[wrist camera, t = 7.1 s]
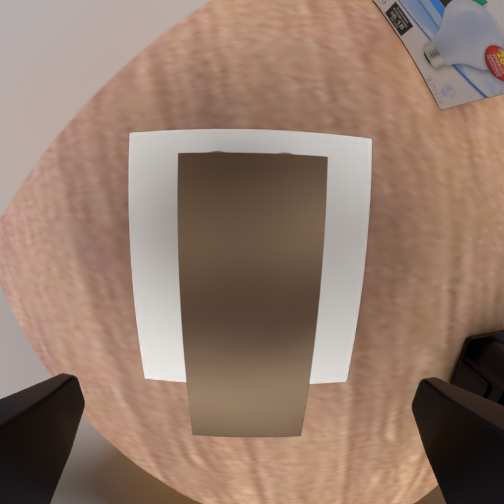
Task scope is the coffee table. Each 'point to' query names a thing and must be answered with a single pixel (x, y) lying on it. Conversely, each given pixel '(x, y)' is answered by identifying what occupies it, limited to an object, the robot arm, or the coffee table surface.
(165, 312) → the peg stand
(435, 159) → the coffee table surface
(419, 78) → the coffee table surface
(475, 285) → the coffee table surface
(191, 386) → the walnut board
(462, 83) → the light bulb box
